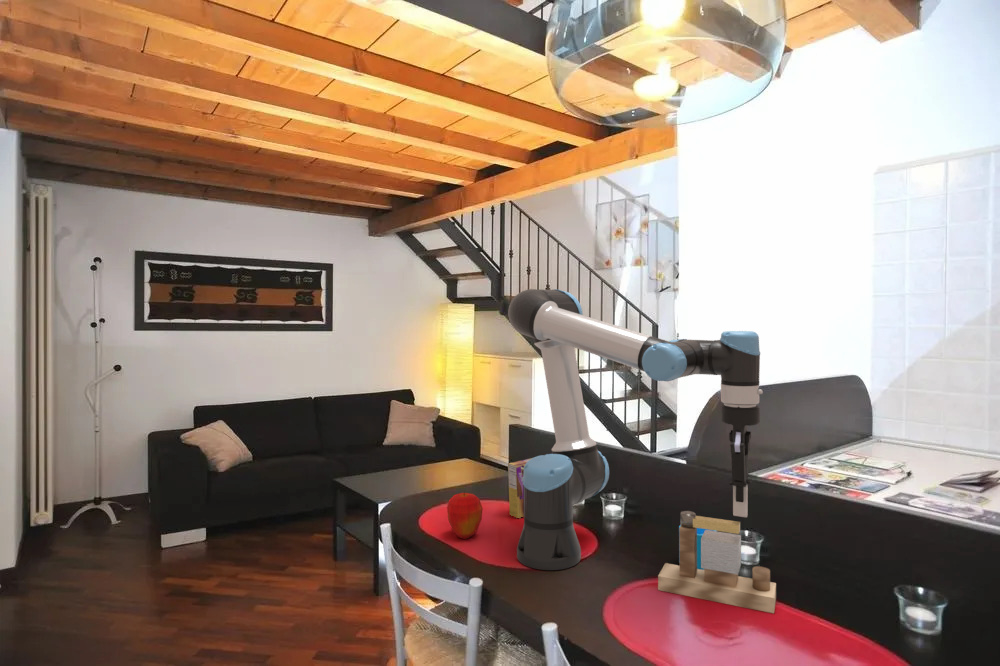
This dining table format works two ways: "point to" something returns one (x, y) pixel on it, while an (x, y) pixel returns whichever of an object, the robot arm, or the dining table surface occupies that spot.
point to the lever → (709, 523)
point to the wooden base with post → (715, 580)
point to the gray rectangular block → (721, 551)
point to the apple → (464, 514)
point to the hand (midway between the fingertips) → (740, 515)
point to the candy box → (516, 488)
